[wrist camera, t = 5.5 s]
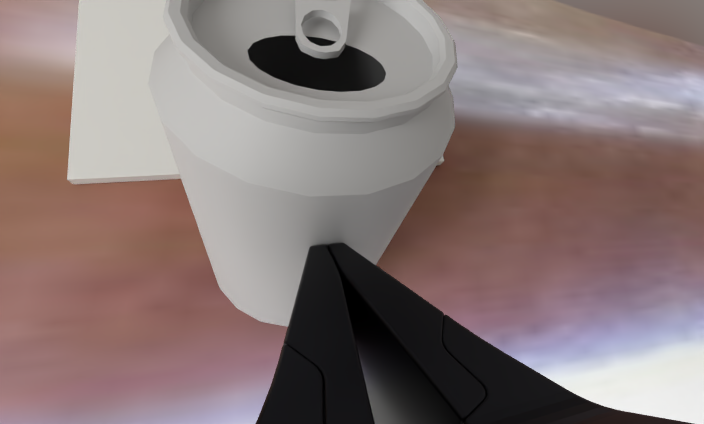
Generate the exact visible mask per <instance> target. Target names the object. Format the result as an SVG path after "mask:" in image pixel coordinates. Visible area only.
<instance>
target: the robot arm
mask: <svg viewBox="0 0 704 424" xmlns="http://www.w3.org/2000/svg"><path fill="white" fill-rule="evenodd" d="M256 424H693V423H687V422H681V421H676V420H670V419H664V418H659V417H653V416H647V415H642V414H636V413H630V412H625V411H620V410H615V409H612V408H608V407H604V406H601V405H599V404H596V403H593V402H591V401H588V400H586V399H584V398H582V397H580V396H578V395H576V394H574V393H572V392H570V391H569V390H567V389H565V388H563V387H562V386H560V385H558V384H557V383H555V382H553V381H551V380H550V379H548V378H546V377H545V376H543V375H541V374H540V373H538V372H536V371H534V370H533V369H531V368H529V367H528V366H526V365H524V364H523V363H521V362H519V361H517V360H516V359H514V358H512V357H511V356H509V355H507V354H506V353H504V352H502V351H501V350H499V349H497V348H496V347H494V346H493V345H491V344H489V343H488V342H486V341H484V340H483V339H481V338H480V337H478V336H477V335H475V334H474V333H472V332H471V331H469V330H468V329H466V328H465V327H463V326H462V325H460V324H459V323H457V322H456V321H455V320H453V319H452V318H450V317H449V316H447V315H444V314H443V312H442V311H440V310H439V309H437V308H436V307H434V306H433V305H432V304H430V303H429V302H427V301H426V300H424V299H423V298H422V297H420V296H419V295H417V294H416V293H415V292H413V291H412V290H410V289H409V288H407V287H406V286H405V285H403V284H402V283H400V282H399V281H398V280H396V279H395V278H393V277H392V276H390V275H389V274H388V273H386V272H385V271H383V270H382V269H380V268H379V267H378V266H376V265H375V264H373V263H372V262H371V261H369V260H368V259H366V258H365V257H363V256H362V255H361V254H359V253H358V252H356V251H355V250H354V249H352V248H351V247H349V246H348V245H346V244H345V243H334V244H329V245H328V247H326V246H325V245H316V246H310V247H309V250H308V254H307V257H306V261H305V265H304V269H303V272H302V276H301V280H300V284H299V287H298V291H297V295H296V299H295V302H294V306H293V310H292V314H291V318H290V321H289V325H288V329H287V333H286V336H285V340H284V345H283V347H282V350H281V354H280V358H279V361H278V365H277V368H276V371H275V374H274V378H273V381H272V384H271V387H270V389H269V392H268V394H267V397H266V400H265V402H264V405H263V407H262V410H261V413H260V415H259V417H258V420H257V422H256Z"/></svg>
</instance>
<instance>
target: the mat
mask: <svg viewBox="0 0 704 424" xmlns="http://www.w3.org/2000/svg"><path fill="white" fill-rule="evenodd" d="M165 3H166V0H79V9H78V24H77V39H76V54H75V70H74V85H73V100H72V115H71V130H70V146H69V161H68V176H67V180H69V181H70V182H71V183H73V184H89V183H108V182H127V181H146V180H165V179H181V177H180V174H179V171H178V168H177V165H176V162H175V159H174V157H173V154H172V151H171V148H170V145H169V142H168V139H167V137H166V134H165V131H164V128H163V125H162V122H161V119H160V117H159V114H158V111H157V108H156V105H155V102H154V99H153V97H152V94H151V91H150V88H149V85H148V82H149V77H150V72H151V67H152V62H153V57H154V52H155V50H156V49H157V48H158V47H159V46H160V44H161V43H162V42H163V41H164V40H165V39H166V37H167V36H168V35H169V32H168V29H167V27H166V25H165V22H164V19H163V13H164V8H165ZM443 162H444V158H443V155H442V157H441V159H440V160H439V162H438V164H437V165H440V164H442V163H443Z"/></svg>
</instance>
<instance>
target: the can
mask: <svg viewBox="0 0 704 424" xmlns="http://www.w3.org/2000/svg"><path fill="white" fill-rule="evenodd" d="M163 19H164V22H165V25H166V27H167V29H168V32H169V35H168V36H167V37H166V39H165V40H164V41H163V42H162V43H161V44H160V46H159V47H158V48H157V49H156V50H155V52H154V57H153V62H152V67H151V72H150V77H149V82H148V85H149V88H150V91H151V94H152V97H153V99H154V102H155V105H156V108H157V111H158V114H159V117H160V119H161V122H162V125H163V128H164V131H165V134H166V137H167V139H168V142H169V145H170V148H171V151H172V154H173V157H174V159H175V162H176V165H177V168H178V171H179V174H180V177H181V179H182V182H183V185H184V188H185V191H186V194H187V197H188V199H189V202H190V205H191V208H192V211H193V214H194V217H195V219H196V222H197V225H198V228H199V231H200V234H201V237H202V239H203V242H204V245H205V248H206V251H207V254H208V257H209V259H210V262H211V265H212V268H213V271H214V274H215V276H216V279H217V282H218V285H219V288H220V289H221V290H222V292H223V293H224V294H225V295H226V296H227V297H228V298H229V300H230V301H231V302H232V303H233V304H234V305H235V307H236V308H237V309H239V310H241V311H243V312H245V313H246V314H248V315H250V316H252V317H253V318H255V319H257V320H259V321H261V322H265V323H271V324H276V325H282V326H287V327H288V325H289V321H290V318H291V314H292V310H293V306H294V302H295V299H296V295H297V291H298V287H299V284H300V280H301V276H302V272H303V269H304V265H305V261H306V257H307V254H308V250H309V247H310V246H316V245H325V246H326V247H328V245H329V244H334V243H345V244H346V245H348V246H349V247H351V248H352V249H354V250H355V251H356V252H358V253H359V254H361V255H362V256H363V257H365V258H366V259H368V260H369V261H371V262H372V263H373V264H375V265H376V264H377V262H378V261H379V259H380V257H381V256H382V254H383V252H384V251H385V249H386V247H387V246H388V244H389V243H390V241H391V239H392V238H393V236H394V234H395V233H396V231H397V229H398V228H399V226H400V224H401V223H402V221H403V219H404V218H405V216H406V215H407V213H408V211H409V210H410V208H411V206H412V205H413V203H414V201H415V200H416V198H417V196H418V195H419V193H420V192H421V190H422V188H423V187H424V185H425V183H426V182H427V180H428V178H429V177H430V175H431V173H432V172H433V170H434V169H435V167H436V165H437V164H438V162H439V160H440V159H441V157H442V155H443V153H444V151H445V149H446V146H447V144H448V142H449V140H450V137H451V135H452V133H453V130H454V128H455V117H454V104H453V96H452V94H451V91H450V89H449V86H448V85H449V83H450V81H451V79H452V77H453V75H454V73H455V71H456V69H457V57H456V47H455V42H454V40H453V38H452V37H451V35H450V33H449V31H448V30H447V28H446V26H445V25H444V23H443V21H442V20H441V18H440V17H439V16H438V15H437V14H436V13H435V12H434V11H433V10H432V9H431V8H430V7H429V6H428V5H427V4H426V3H425V2H424V1H423V0H166V3H165V8H164V13H163Z"/></svg>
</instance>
